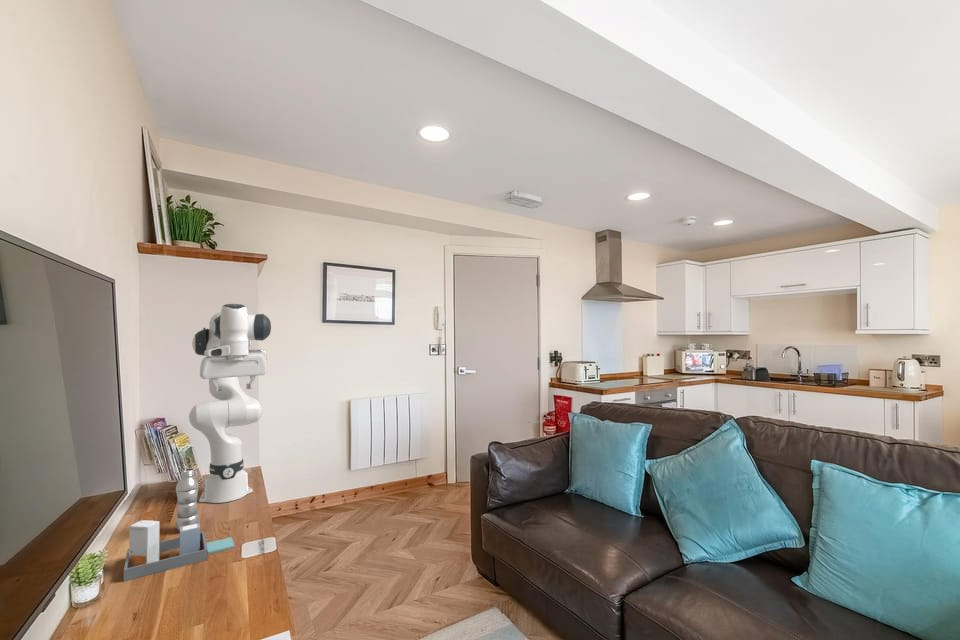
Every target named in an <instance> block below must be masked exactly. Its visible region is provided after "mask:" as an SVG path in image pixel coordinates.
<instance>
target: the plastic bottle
mask: <svg viewBox="0 0 960 640" xmlns="http://www.w3.org/2000/svg"><path fill="white" fill-rule="evenodd" d="M194 475H195V468H190V467H189V468H185V469H181V472H180V479H179V480H178V482H177V484H176V486H175V493H176V497H177V515H176V519H175V529H176V530H177V531H178V532H180V527H182V526H187V525H192V524H196V523H199V524H200V516H199V513H198V492H199V485H200V484H199V481H198V479H197V478H196V476H194Z"/></svg>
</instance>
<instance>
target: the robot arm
mask: <svg viewBox="0 0 960 640" xmlns="http://www.w3.org/2000/svg"><path fill="white" fill-rule="evenodd" d="M271 330H272V323H271V320H270V318H269V317H268V316H267V315H265V314H264V313H256V314H253V313H252V314H249V313H248V308H247V306H246V305H244V304H239V303H227V304H224V305H222V307H221V310H220V312H216V313H215V314H214V315H213V316H212V317H211V318H210V320H209V328H206V327H203V329H201V330H199V331H197V332H196V333H195V334H194V336H193V339H192V343H191V345H192V349H193V351H194V352H195V354H196V355H198V356H205V357H203V358H202V359H201V363H200V368H199V377H200V378H201V379H203V380H208V385H209V386H208V388H209V389H208V390H209V393H210V395H211V396H212V397H213V398H215V399H216V400H213V401H209V400H208V401H205V402H201V403H198V404H195V405H194V406H193V407H192V408H191V409H190V411H189V415H188V420H189V423H190V425H191V426H192V427H193V428H194V429H195V430H197V431H199V432H200V433H202V435H204V436H205V438H206V439H207V441H208V443H209V449H210V463H209V466H208V468H209V469H208V470H209V474H208V476H207V477H206V479H205V480H203V485H202V486H203V487H205V488H203V490H202V493H201V495H200V497H199V499H198V503H210V504H211V503H212V504H218V503H219V504H220V503H221V504H223V503H228V502H232V501H236V500H239V499H242V498H243V497H245V496H246V495H248V494H251V493H253V488H251V487H250V486H249V483H248V481H249V479H248V478H249V477H248V472H247V471H246V470H245V469H244V465H245V462H244V459H243V442H242V439H241V438H240V437H238V436H236V435H233V434H230V433H227V432H226V428H233V427H241V426H242V427H243V426H247V425H251V424H254V423H256V422H258V421H259V420H260V419H261V418H262V414H263V406H262V404H261V402H260V401H259V400H258V399H256V398H254V397H251V395H248V394H247V393H246V392H245V391H244V390H243V389H242V387H241V385H240V379H239V378H241V377H243V378H244V377H249V379H250V381H249V383H246V388H245V389H246V390H252V389H253V384H254V382H255V381H256V377H257V376H264V375H266V374H267V365H266V364H267V363H266V360H267V359H268V355H267V352H266V351H265V350H263V349H250V347H251V344H252V341H265V340H266V339H267V338H268V337H269V336H270V335H271Z"/></svg>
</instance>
